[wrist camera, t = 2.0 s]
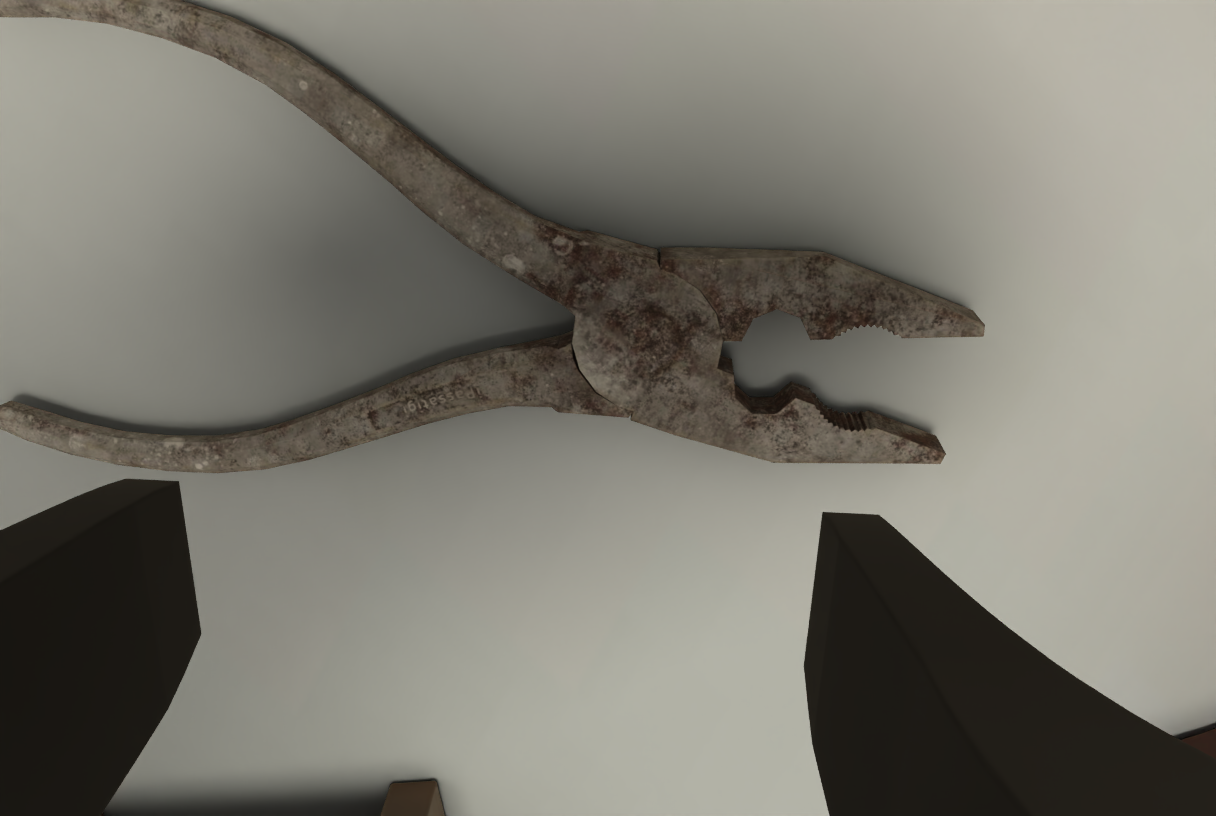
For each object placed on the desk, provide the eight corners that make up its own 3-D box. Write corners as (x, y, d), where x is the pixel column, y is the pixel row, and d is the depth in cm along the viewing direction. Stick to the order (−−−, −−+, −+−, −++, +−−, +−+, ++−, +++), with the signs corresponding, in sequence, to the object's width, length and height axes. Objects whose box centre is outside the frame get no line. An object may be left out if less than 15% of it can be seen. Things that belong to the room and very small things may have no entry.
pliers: (-145, -14, 19) (1025, -63, 18) (-113, -16, 20) (1010, -63, 18) (0, 481, 23) (969, 470, 21) (22, 463, 23) (959, 451, 22)
